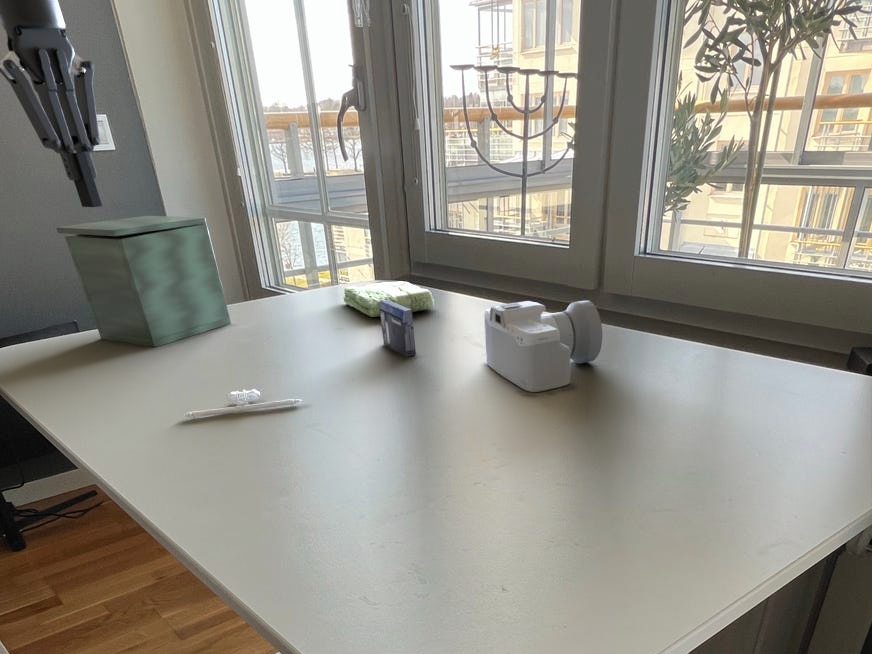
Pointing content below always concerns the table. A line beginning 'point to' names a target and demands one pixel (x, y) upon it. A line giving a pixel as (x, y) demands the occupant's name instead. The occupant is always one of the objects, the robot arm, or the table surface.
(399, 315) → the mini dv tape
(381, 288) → the washcloth
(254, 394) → the picture light
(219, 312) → the green open box
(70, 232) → the lid
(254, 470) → the table surface
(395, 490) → the table surface
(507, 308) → the digital camera
